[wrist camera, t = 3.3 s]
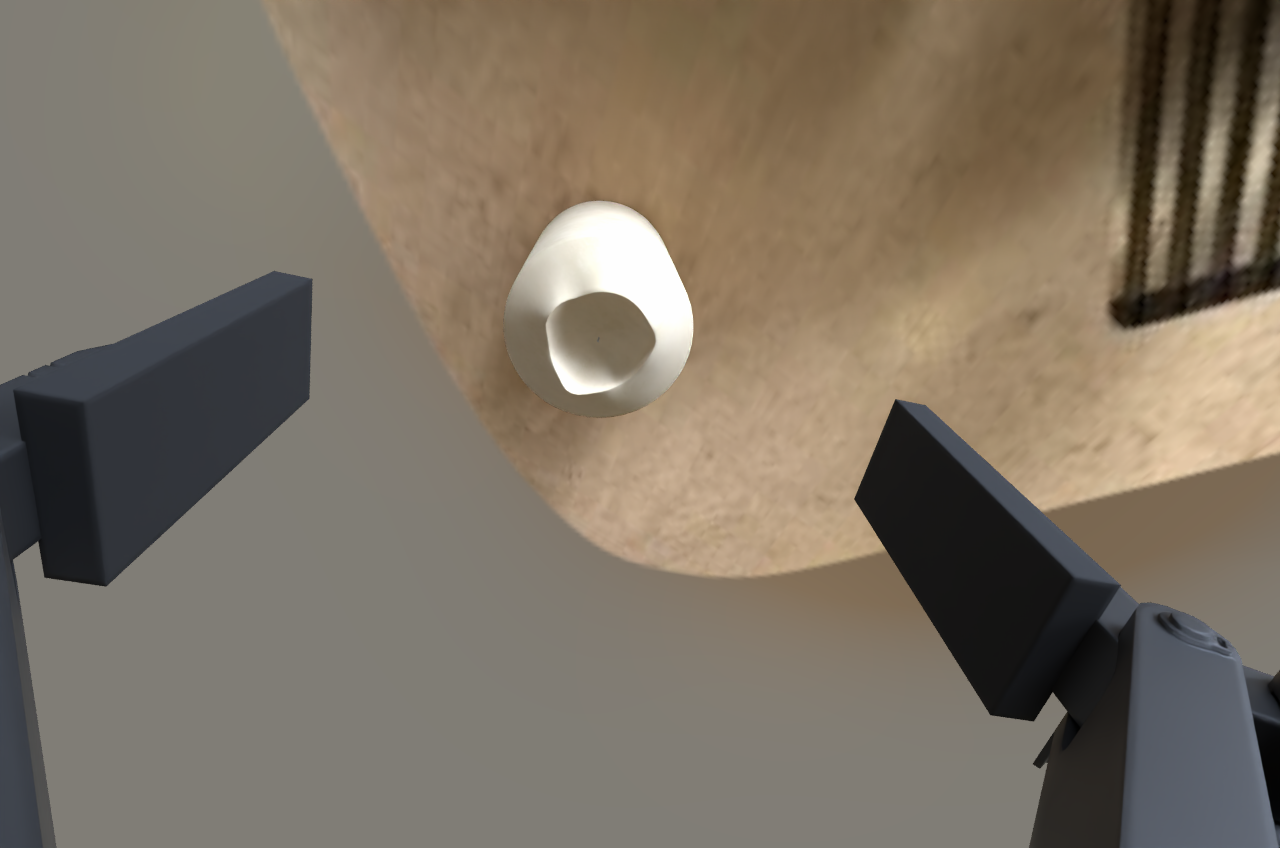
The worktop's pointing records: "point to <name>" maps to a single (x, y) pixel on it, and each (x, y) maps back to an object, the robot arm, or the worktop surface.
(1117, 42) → the worktop surface
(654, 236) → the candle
